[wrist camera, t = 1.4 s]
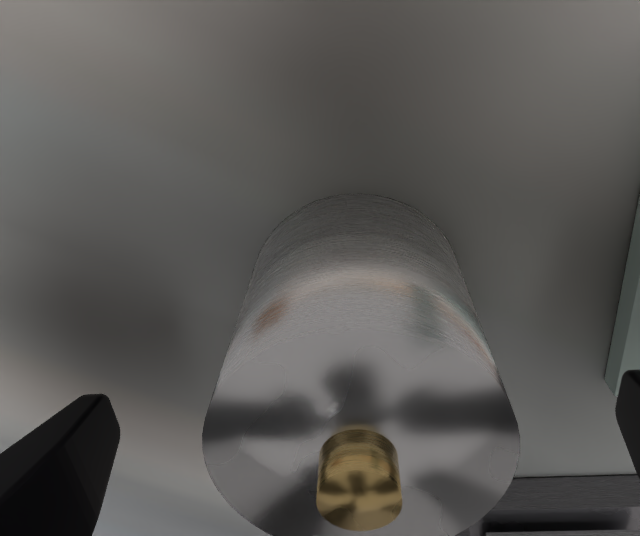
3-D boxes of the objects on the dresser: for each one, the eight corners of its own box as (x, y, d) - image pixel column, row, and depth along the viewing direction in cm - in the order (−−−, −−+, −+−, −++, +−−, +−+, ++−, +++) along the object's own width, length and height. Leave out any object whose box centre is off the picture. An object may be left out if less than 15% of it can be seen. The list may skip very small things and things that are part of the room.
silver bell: (457, 365, 14) (522, 602, 8) (269, 375, 14) (222, 604, 9) (461, 184, 11) (554, 357, 6) (237, 202, 12) (150, 377, 7)
